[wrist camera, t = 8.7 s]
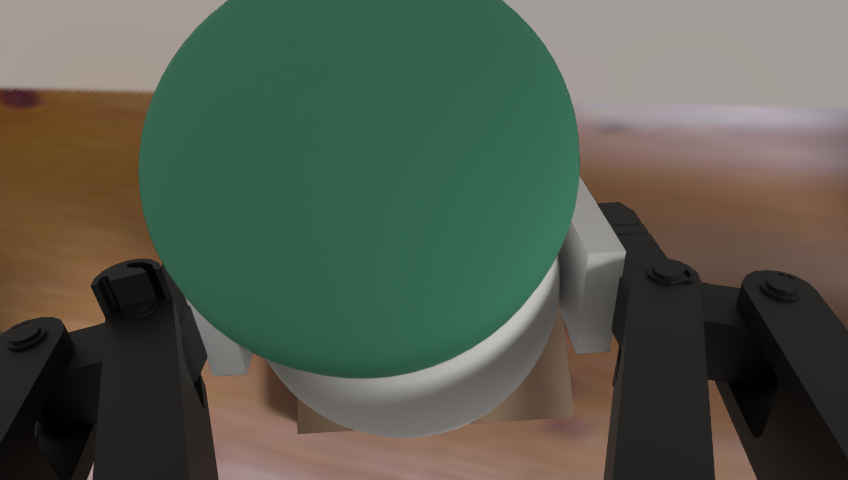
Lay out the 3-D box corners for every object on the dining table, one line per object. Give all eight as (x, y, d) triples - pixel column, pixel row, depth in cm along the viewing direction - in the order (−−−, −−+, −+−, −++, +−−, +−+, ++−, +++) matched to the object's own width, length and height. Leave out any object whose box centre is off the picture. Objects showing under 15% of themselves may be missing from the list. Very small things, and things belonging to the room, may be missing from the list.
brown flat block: (544, 241, 38) (553, 231, 35) (563, 412, 35) (574, 416, 32) (306, 257, 38) (295, 247, 35) (309, 428, 35) (297, 433, 32)
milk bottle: (302, 288, 25) (-143, 16, 6) (449, 205, 26) (485, -282, 7) (385, 443, 24) (152, 778, 4) (539, 351, 24) (936, 276, 5)
